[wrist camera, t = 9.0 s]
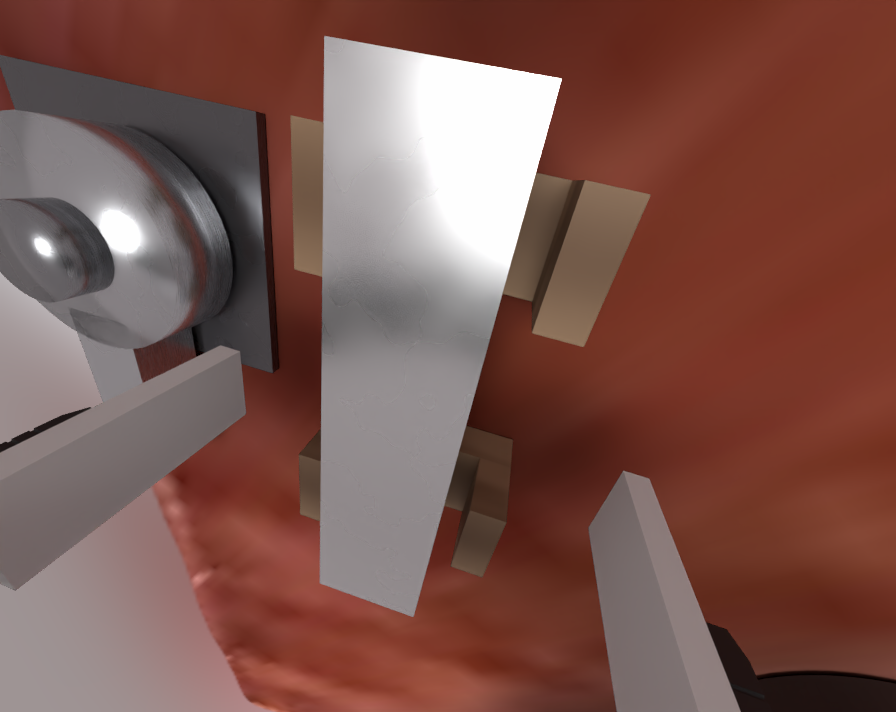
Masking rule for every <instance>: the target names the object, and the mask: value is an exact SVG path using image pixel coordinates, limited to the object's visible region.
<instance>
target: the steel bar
mask: <svg viewBox="0 0 896 712" xmlns="http://www.w3.org/2000/svg"><path fill="white" fill-rule="evenodd" d="M560 83H561V79H559V78H554V77H548V76H543V75H537V74H532V73H526V72H521V71H515V70H510V69H504V68H499V67H493V66H488V65H482V64H477V63H471V62H465V61H460V60H454V59H449V58H443V57H438V56H432V55H427V54H421V53H416V52H410V51H405V50H399V49H394V48H388V47H383V46H377V45H372V44H366V43H361V42H355V41H350V40H344V39H338V38H333V37H327V36H324V144H323V263H322V382H321V500H320V584H323V585H326V586H329V587H331V588H334V589H337V590H340V591H343V592H345V593H348V594H351V595H354V596H356V597H359V598H362V599H365V600H367V601H370V602H373V603H376V604H378V605H381V606H384V607H387V608H389V609H392V610H395V611H398V612H401V613H403V614H406V615H409V616H412V617H414V613H415V609H416V606H417V602H418V598H419V595H420V591H421V588H422V584H423V580H424V577H425V573H426V569H427V566H428V562H429V559H430V555H431V551H432V548H433V544H434V540H435V537H436V533H437V529H438V526H439V522H440V519H441V515H442V511H443V508H444V504H445V500H446V497H447V493H448V490H449V486H450V482H451V479H452V475H453V471H454V468H455V464H456V460H457V457H458V453H459V450H460V446H461V442H462V439H463V435H464V431H465V428H466V424H467V421H468V417H469V413H470V410H471V406H472V402H473V399H474V395H475V391H476V388H477V384H478V381H479V377H480V373H481V370H482V366H483V362H484V359H485V355H486V352H487V348H488V344H489V341H490V337H491V333H492V330H493V326H494V322H495V319H496V315H497V312H498V308H499V304H500V301H501V297H502V293H503V290H504V286H505V283H506V279H507V275H508V272H509V268H510V264H511V261H512V257H513V253H514V250H515V246H516V243H517V239H518V235H519V232H520V228H521V224H522V221H523V217H524V214H525V210H526V206H527V203H528V199H529V195H530V192H531V188H532V184H533V181H534V177H535V174H536V170H537V166H538V163H539V159H540V155H541V152H542V148H543V145H544V141H545V137H546V134H547V130H548V126H549V123H550V119H551V115H552V112H553V108H554V105H555V101H556V97H557V94H558V90H559V86H560Z"/></svg>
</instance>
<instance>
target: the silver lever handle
mask: <svg viewBox="0 0 896 712" xmlns="http://www.w3.org/2000/svg"><path fill="white" fill-rule="evenodd" d="M0 272H1V273H2V274H3V275H4V276H5V277H6V278H7V279H8V280H9V281H10V282H11V283H12V284H13V285H14V286H16V287H17V288H18V289H19V290H21V291H22V292H24V293H25V294H27V295H29V296H30V297H32V298H34V299H36V300H37V301H38V302H39V303H41V304H42V305H43V306H44V307H45V308H46V309H47V310H48V311H49V312H51V313H52V314H53V315H55V316H56V317H57V318H58V319H59V320H61V321H62V322H63V323H65V324H66V325H68V326H69V327H71V328H72V329H74V330H76V331H77V333H78V336H79V338H80V341H81V343H82V347H83V349H84V352H85V355H86V358H87V360H88V363H89V366H90V368H91V371H92V374H93V376H94V379H95V382H96V384H97V387H98V390H99V392H100V395H101V398H102V401H103V402H105V401H107V400H109V399H111V398H113V397H115V396H117V395H119V394H122V393H124V392H126V391H128V390H130V389H132V388H134V387H136V386H138V385H140V384H142V383H144V382H146V381H148V380H150V379H152V378H154V377H156V376H159V375H161V374H163V373H165V372H167V371H169V370H171V369H173V368H175V367H177V366H179V365H181V364H183V363H185V362H187V361H189V360H191V359H193V358H195V357H196V352H195V347H194V342H193V336H192V331H191V327H193V326H196V325H198V324H200V323H203V322H205V321H207V320H209V319H211V318H212V317H214V316H215V315H216V314H217V313H218V312H219V311H220V310H221V309H222V307H223V306H224V304H225V303H226V301H227V298H228V296H229V293H230V289H231V285H232V275H233V268H232V256H231V250H230V245H229V242H228V238H227V234H226V231H225V229H224V226H223V223H222V221H221V218H220V216H219V214H218V212H217V210H216V208H215V206H214V204H213V202H212V201H211V199H210V197H209V196H208V194H207V192H206V191H205V189H204V188H203V187H202V185H201V184H200V182H199V181H198V180H197V178H196V177H195V176H194V175H193V173H192V172H191V171H190V170H189V169H188V168H187V166H186V165H185V164H184V163H183V162H182V161H181V160H180V159H179V158H178V157H177V156H175V155H174V154H173V153H172V152H171V151H170V150H168V149H167V148H166V147H165V146H163V145H162V144H161V143H159V142H158V141H156V140H155V139H153V138H152V137H150V136H148V135H147V134H144V133H142V132H140V131H138V130H136V129H134V128H130V127H127V126H124V125H120V124H113V123H106V122H99V121H92V120H84V119H77V118H70V117H63V116H56V115H49V114H41V113H34V112H27V111H20V110H3V111H0Z"/></svg>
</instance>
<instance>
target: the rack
mask: <svg viewBox="0 0 896 712" xmlns="http://www.w3.org/2000/svg"><path fill="white" fill-rule="evenodd" d="M323 144H324V123H323V122H318V121H314V120H309V119H305V118H300V117H296V116H291V150H292V192H293V233H294V269H295V270H299V271H303V272H307V273H310V274H314V275H318V276H321V277H322V263H323ZM649 198H650V194H646V193H641V192H636V191H632V190H627V189H623V188H618V187H614V186H609V185H605V184H600V183H596V182H591V181H586V180H577V181H572V180H567V179H562V178H558V177H553V176H549V175H544V174H540V173H536V174H535V177H534V181H533V184H532V188H531V192H530V195H529V199H528V203H527V206H526V210H525V214H524V217H523V221H522V224H521V228H520V232H519V235H518V239H517V243H516V246H515V250H514V253H513V257H512V261H511V264H510V268H509V272H508V275H507V279H506V283H505V286H504V290H503V293H502V294H505V295H509V296H513V297H516V298H520V299H524V300H528V301H532V333H533V334H537V335H541V336H544V337H548V338H552V339H555V340H559V341H563V342H567V343H570V344H574V345H578V346H581V347H584V345H585V343H586V341H587V338H588V336H589V334H590V332H591V329H592V327H593V325H594V323H595V320H596V318H597V316H598V313H599V311H600V309H601V307H602V304H603V302H604V300H605V298H606V295H607V293H608V291H609V288H610V286H611V284H612V282H613V279H614V277H615V275H616V273H617V270H618V268H619V266H620V263H621V261H622V259H623V257H624V254H625V252H626V250H627V248H628V245H629V243H630V241H631V238H632V236H633V234H634V232H635V229H636V227H637V225H638V223H639V220H640V218H641V216H642V213H643V211H644V209H645V207H646V204H647V202H648V200H649ZM512 446H513V440H512V439H509V438H505V437H502V436H499V435H495V434H492V433H489V432H485V431H482V430H479V429H476V428H472V427H469V426H466V428H465V431H464V435H463V439H462V442H461V446H460V450H459V453H458V457H457V460H456V464H455V468H454V471H453V475H452V479H451V482H450V486H449V490H448V493H447V497H446V500H445V504H444V506H447V507H450V508H453V509H456V510H459V511H462V515H461V520H460V525H459V529H458V534H457V539H456V543H455V548H454V553H453V557H452V562H451V567H454V568H456V569H459V570H462V571H465V572H468V573H471V574H474V575H477V576H480V577H483V575H484V572H485V570H486V568H487V566H488V563H489V561H490V559H491V557H492V554H493V552H494V550H495V547H496V545H497V543H498V541H499V538H500V536H501V534H502V532H503V529H504V527H505V525H506V522H507V510H508V497H509V484H510V472H511V459H512ZM299 481H300V514H301V515H304V516H307V517H310V518H312V519H315V520H318V521H320V500H321V429H320V430H319V431H318V433H317V434H316V435H315V436H314V437H313V438H312V440H311V441H310V442H309V443H308V444H307V445H306V447H305V448H304V449H303V450H302V451H301V452H300V454H299Z"/></svg>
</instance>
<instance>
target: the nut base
mask: <svg viewBox="0 0 896 712" xmlns="http://www.w3.org/2000/svg"><path fill="white" fill-rule="evenodd" d="M0 67H1V70H2V73H3V75H4V78H5V81H6V84H7V87H8V90H9V93H10V96H11V99H12V101H13V104H14V107H15V110H20V111H27V112H34V113H41V114H49V115H56V116H63V117H70V118H77V119H84V120H92V121H99V122H106V123H113V124H120V125H124V126H127V127H130V128H134V129H136V130H138V131H140V132H142V133H144V134H147V135H148V136H150V137H152V138H153V139H155V140H156V141H158V142H159V143H161V144H162V145H163V146H165V147H166V148H167V149H168V150H170V151H171V152H172V153H173V154H174V155H175V156H177V157H178V158H179V159H180V160H181V161H182V162H183V163H184V164H185V165H186V166H187V168H188V169H189V170H190V171H191V172H192V173H193V175H194V176H195V177H196V178H197V180H198V181H199V182H200V184H201V185H202V187H203V188H204V189H205V191H206V192H207V194H208V196H209V197H210V199H211V201H212V202H213V204H214V206H215V208H216V210H217V212H218V214H219V216H220V218H221V221H222V223H223V226H224V229H225V231H226V234H227V238H228V242H229V245H230V250H231V256H232V268H233V275H232V285H231V289H230V293H229V296H228V298H227V301H226V303H225V304H224V306H223V307H222V309H221V310H220V311H219V312H218V313H217V314H216V315H215V316H214V317H212V318H211V319H209V320H207V321H205V322H203V323H200V324H198V325H196V326H193V327H191V331H192V336H193V342H194V347H195V350H198V351H201V352H205V353H206V352H208V351H210V350H212V349H214V348H216V347H218V346H220V345H221V346H224V347H228V348H231V349H234V350H237V351H240V357H241V364H244V365H247V366H251V367H254V368H257V369H261V370H264V371H267V372H270V373H274V372H275V371H276V370H278V369H279V367H278V348H277V330H276V312H275V293H274V275H273V257H272V239H271V220H270V202H269V184H268V165H267V147H266V129H265V114H263V113H259V112H255V111H250V110H246V109H241V108H237V107H232V106H228V105H223V104H219V103H214V102H210V101H205V100H201V99H196V98H192V97H187V96H183V95H178V94H174V93H169V92H165V91H160V90H156V89H151V88H147V87H142V86H138V85H133V84H129V83H124V82H119V81H115V80H110V79H106V78H101V77H97V76H92V75H88V74H83V73H79V72H74V71H70V70H65V69H61V68H56V67H52V66H47V65H43V64H38V63H34V62H29V61H25V60H20V59H16V58H11V57H7V56H2V55H0Z"/></svg>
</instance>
